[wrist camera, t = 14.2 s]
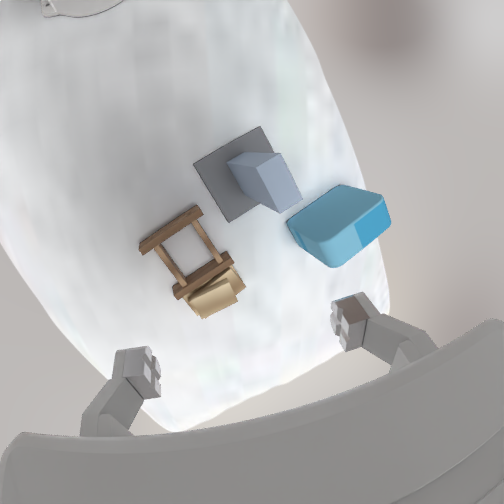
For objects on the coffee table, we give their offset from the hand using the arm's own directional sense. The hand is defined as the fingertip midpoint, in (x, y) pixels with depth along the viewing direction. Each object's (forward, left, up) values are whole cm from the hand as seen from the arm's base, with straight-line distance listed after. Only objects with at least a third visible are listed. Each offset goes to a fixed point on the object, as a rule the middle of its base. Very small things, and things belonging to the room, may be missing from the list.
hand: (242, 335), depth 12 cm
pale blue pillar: (+1, +10, -31) cm, 32 cm away
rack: (+6, -3, -31) cm, 32 cm away
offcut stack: (+14, -3, -31) cm, 34 cm away
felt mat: (+1, +10, -31) cm, 33 cm away
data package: (+13, +18, -32) cm, 38 cm away
